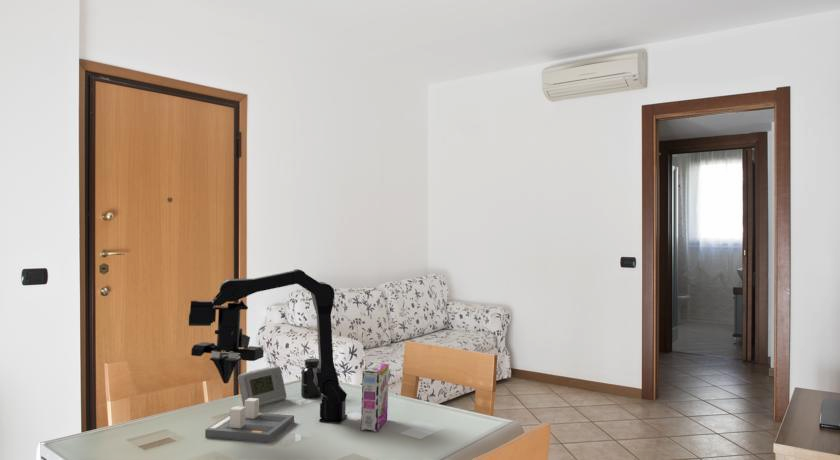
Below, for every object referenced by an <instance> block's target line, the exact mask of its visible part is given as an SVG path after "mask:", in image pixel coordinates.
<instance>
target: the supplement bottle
mask: <svg viewBox="0 0 840 460" xmlns="http://www.w3.org/2000/svg"><path fill="white" fill-rule="evenodd" d="M318 363H319V358H307V359H305V360H304V367H303V368H302V369H301V378H300V379H301V380H300V381H301V387H300V395H301V398H304V399H308V400H309V399H311V400H312V398H313V399H319V398H320V397H322V395H323V394H322V393H321V392H320V391H319V389H318V388H317V386H316V385H315V384H314V382H313V379H314V373H313V368H317V367H318Z"/></svg>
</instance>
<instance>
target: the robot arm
mask: <svg viewBox="0 0 840 460" xmlns="http://www.w3.org/2000/svg"><path fill="white" fill-rule="evenodd" d="M294 285H298V286H300V287H302V288H303V289H305V290H306V291H307V292H309V293H310V296H311V300H312V304H313V307H314V310H315V315H316V330H317V331H316V333H317V348H318V349H317V352H318V359H319V363H318V367H317V368H313V373H314V379H313V382H314V384H315V385H316V386H317V388H318V389H319V391H320V392H321V393H322V395H323V397H322V398H321V403H319V418H320V419H319V423H320V422H321V423H332V424H341V423H343V421H345V419H347V417H348V414H346V400H347V396H348V393H346V391H345V390H344V389H343V388H342V387H341V385H340V381H339V379H338V378H339V377H338V373H337V370H336V367H335V364H334V353H333V350H334V349H333V332H332V328H333V327H332V312H333V307H334V304H335V303H334V302H335V290H334V288H333V287H332V285H330V284H328V283H326V282H324V281H323V282H322V281H318V280H316V279H314V278H313V277H311V276H310V275H308V274H307V273H306V272H305V271H304V270H302V269H299V268H298V269H297V268H296V269H293V270H289V271H284V272H280V273H275V274H271V275H266V276H265V275H264V276H260V277H256V278H228V279H226V280H224V281H222V282H221V283H220V287H219V291H218V292H217V294H216V295H215V296H214V297H213V299H211V300H210V301H209V300H197V299H196V300H194V299H193V300H190V308H189V313H188V326H189V327H210V326H212V324H214V323H216V317H217V316H216V315H218V317H217V329H215V330H214V335H216V344H215V342H208V341H207V342H205V341H202V342H199V343H197V344H194V345H192V347H191V350H190V355H191V357H192V356H193V357H202V356H203V355H204V354H211V357H210V358H209V361H212V362H213V364H214V365H215V367H216V369H217V371H218V374H219V376H220V378H221V381H222V382H223V384H229V381H230V380H231V377H232V375H233V373H234V370H235V368H236V365H237V364H238V362H239V361H241V360H242V361H246V362H247V361H249V362H255V361H257V360H261V359H263V358H264V355H265V353H264V352H265V351H264V350H263V347H262V346H251V345H250V346H249V344H250V340H251V336H248V335H246V334H243V329H242V328H241V311H242V310H248V309H249V307H248V305H247V304H245V303H244V300H243V299H244V298H247V297H248V296H251V295H253V294H256V293H259V292H264V291H268V290H273V289H278V288H283V287H288V286H294ZM239 300H240V301H239ZM237 301H239V302H237ZM226 303H227V304H226ZM224 304H226V305H224ZM222 305H224V306H222ZM217 311H218V314H217Z"/></svg>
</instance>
